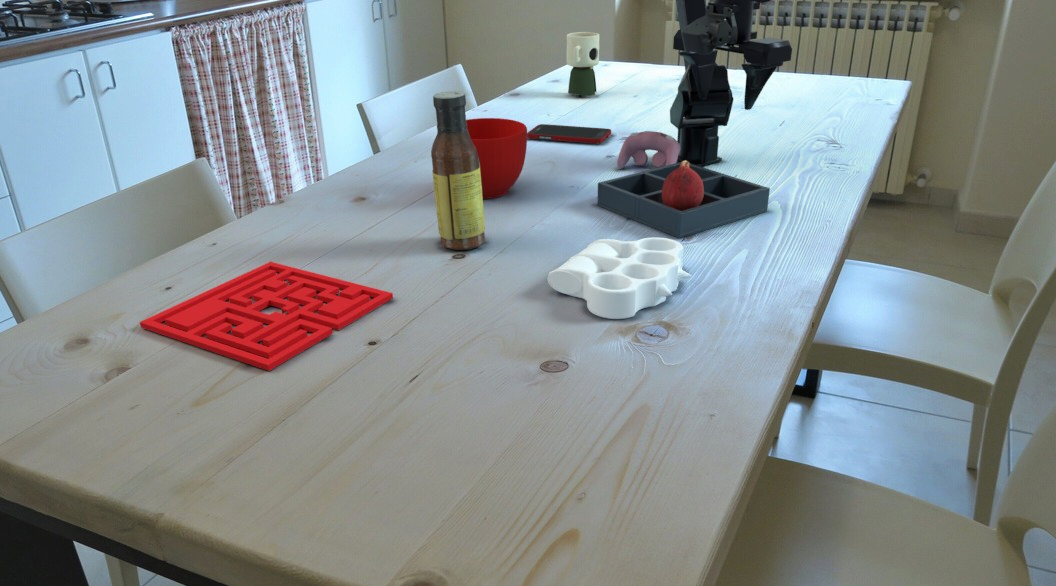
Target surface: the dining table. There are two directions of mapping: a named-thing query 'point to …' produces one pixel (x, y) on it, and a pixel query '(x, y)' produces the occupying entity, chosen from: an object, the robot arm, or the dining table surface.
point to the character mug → (582, 62)
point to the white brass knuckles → (622, 275)
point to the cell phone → (569, 133)
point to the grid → (718, 207)
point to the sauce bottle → (456, 176)
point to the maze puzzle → (282, 330)
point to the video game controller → (649, 141)
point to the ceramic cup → (498, 152)
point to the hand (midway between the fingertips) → (724, 104)
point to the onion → (683, 188)
